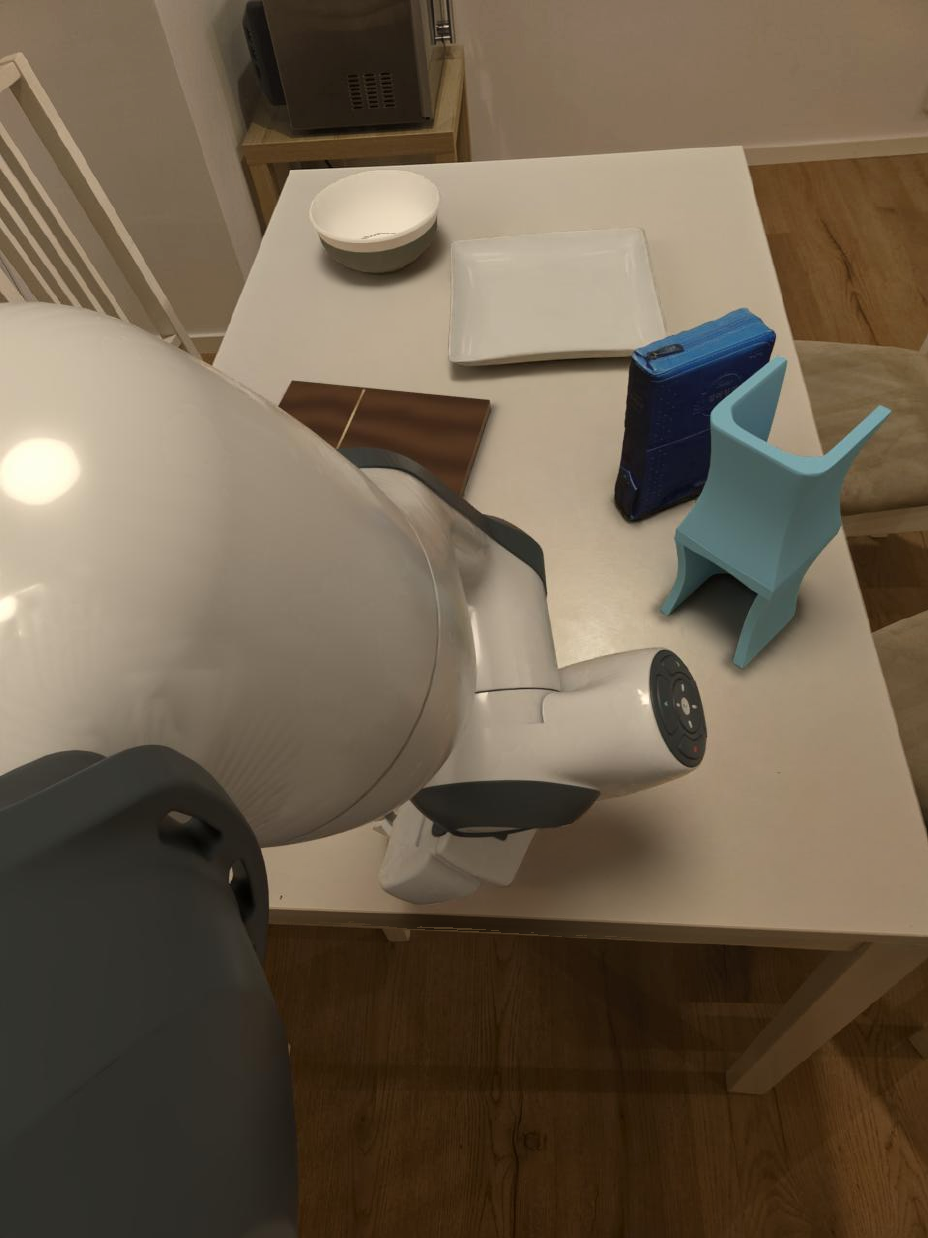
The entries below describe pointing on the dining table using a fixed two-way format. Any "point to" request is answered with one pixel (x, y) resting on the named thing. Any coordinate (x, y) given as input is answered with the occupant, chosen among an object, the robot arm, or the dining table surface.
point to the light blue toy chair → (762, 508)
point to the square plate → (552, 297)
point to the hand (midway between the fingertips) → (394, 781)
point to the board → (395, 424)
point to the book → (682, 407)
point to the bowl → (377, 219)
